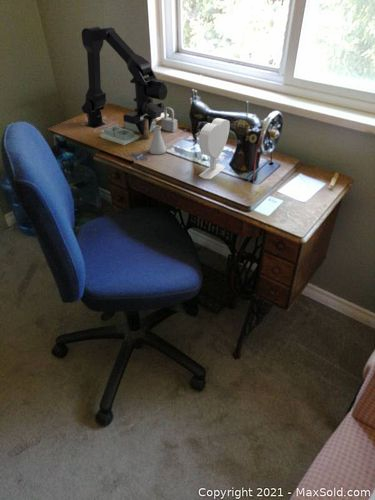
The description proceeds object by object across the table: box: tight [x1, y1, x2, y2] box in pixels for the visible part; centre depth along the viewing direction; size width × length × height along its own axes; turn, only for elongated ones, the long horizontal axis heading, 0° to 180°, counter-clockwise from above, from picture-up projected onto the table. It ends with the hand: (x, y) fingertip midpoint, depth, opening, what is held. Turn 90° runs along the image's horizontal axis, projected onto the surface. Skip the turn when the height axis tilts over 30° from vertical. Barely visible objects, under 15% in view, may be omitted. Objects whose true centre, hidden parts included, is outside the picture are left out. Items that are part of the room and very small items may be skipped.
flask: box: [148, 125, 168, 155], centre depth 147 cm, size 7×7×10 cm
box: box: [123, 120, 158, 134], centre depth 168 cm, size 12×8×4 cm, turn 53°
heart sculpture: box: [198, 117, 231, 180], centre depth 132 cm, size 16×5×18 cm, turn 148°
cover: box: [153, 112, 170, 122], centre depth 171 cm, size 12×8×3 cm
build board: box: [99, 125, 140, 146], centre depth 160 cm, size 14×9×3 cm, turn 53°
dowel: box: [141, 118, 150, 141], centre depth 158 cm, size 3×3×8 cm
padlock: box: [160, 106, 178, 133], centre depth 166 cm, size 7×4×10 cm, turn 51°
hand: (145, 133), depth 159 cm, fingers closed on dowel, 3 cm apart
